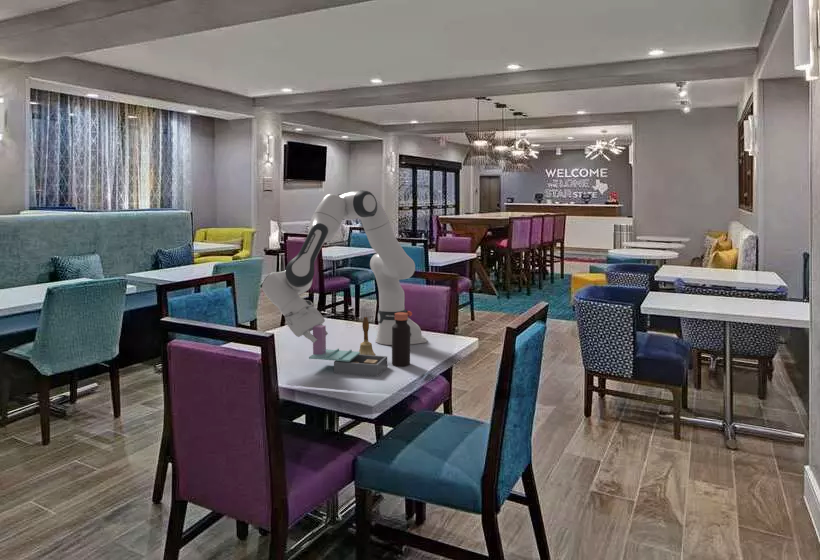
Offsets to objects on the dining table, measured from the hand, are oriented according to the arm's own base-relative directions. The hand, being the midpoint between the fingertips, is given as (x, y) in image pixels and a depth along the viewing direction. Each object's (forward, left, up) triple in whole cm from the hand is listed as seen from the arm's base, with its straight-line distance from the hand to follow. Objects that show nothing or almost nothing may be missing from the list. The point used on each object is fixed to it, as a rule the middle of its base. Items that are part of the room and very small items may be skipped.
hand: (321, 338), depth 210 cm
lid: (-4, +3, -6) cm, 8 cm away
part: (-16, +8, -11) cm, 21 cm away
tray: (-13, +8, -11) cm, 19 cm away
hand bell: (-20, -12, -12) cm, 26 cm away
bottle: (-29, +5, -12) cm, 32 cm away
